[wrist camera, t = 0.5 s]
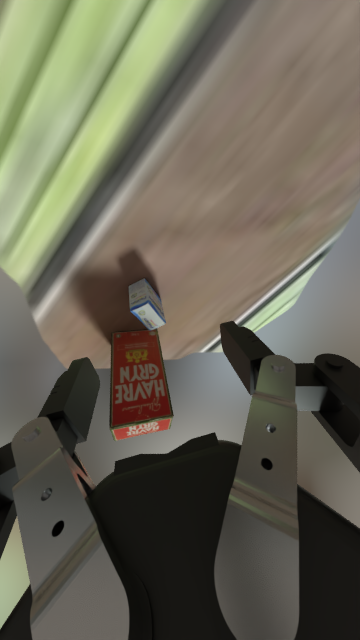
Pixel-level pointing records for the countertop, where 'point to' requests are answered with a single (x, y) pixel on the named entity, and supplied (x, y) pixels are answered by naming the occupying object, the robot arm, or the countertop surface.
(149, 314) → the medicine box
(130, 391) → the food packaging
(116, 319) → the countertop surface
